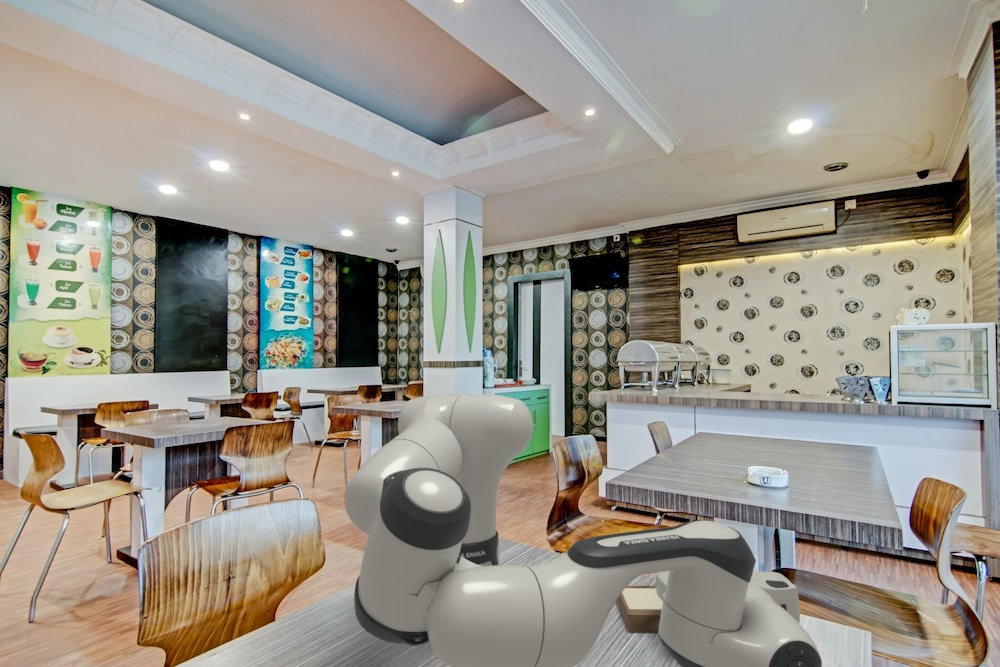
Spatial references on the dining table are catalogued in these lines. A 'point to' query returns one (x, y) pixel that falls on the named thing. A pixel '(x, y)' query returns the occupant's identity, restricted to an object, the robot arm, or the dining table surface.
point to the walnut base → (640, 608)
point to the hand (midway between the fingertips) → (705, 570)
